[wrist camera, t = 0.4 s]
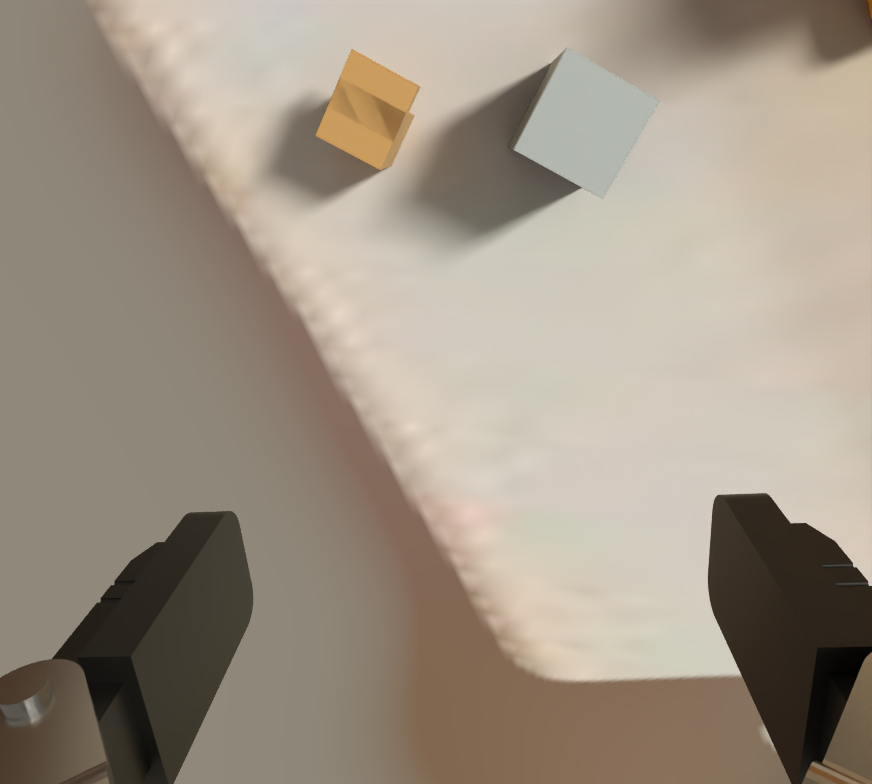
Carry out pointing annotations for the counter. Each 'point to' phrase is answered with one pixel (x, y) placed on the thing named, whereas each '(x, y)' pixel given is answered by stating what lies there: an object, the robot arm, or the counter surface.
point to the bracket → (870, 7)
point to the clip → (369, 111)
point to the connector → (583, 122)
